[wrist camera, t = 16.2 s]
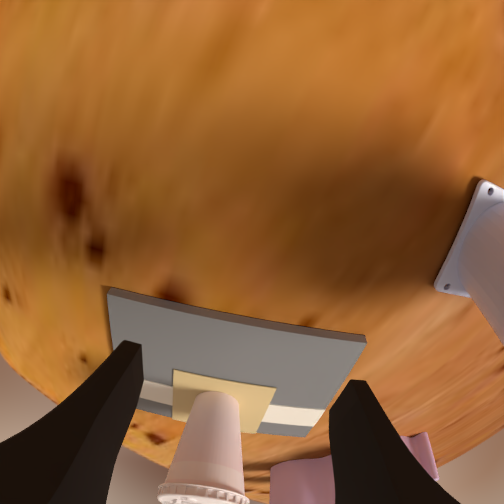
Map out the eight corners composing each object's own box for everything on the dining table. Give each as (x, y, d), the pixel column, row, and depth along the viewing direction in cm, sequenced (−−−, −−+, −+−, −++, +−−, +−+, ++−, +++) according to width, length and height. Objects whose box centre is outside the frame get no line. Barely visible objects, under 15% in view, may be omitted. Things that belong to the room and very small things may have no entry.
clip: (283, 485, 38) (283, 524, 32) (261, 455, 32) (259, 506, 26) (417, 458, 34) (426, 497, 28) (430, 421, 28) (444, 470, 22)
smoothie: (231, 428, 27) (217, 565, 15) (168, 404, 25) (134, 548, 13) (270, 399, 24) (265, 565, 12) (198, 370, 22) (163, 551, 10)
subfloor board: (364, 335, 21) (367, 344, 20) (304, 430, 28) (305, 438, 27) (111, 286, 20) (105, 295, 20) (125, 398, 27) (122, 406, 26)
